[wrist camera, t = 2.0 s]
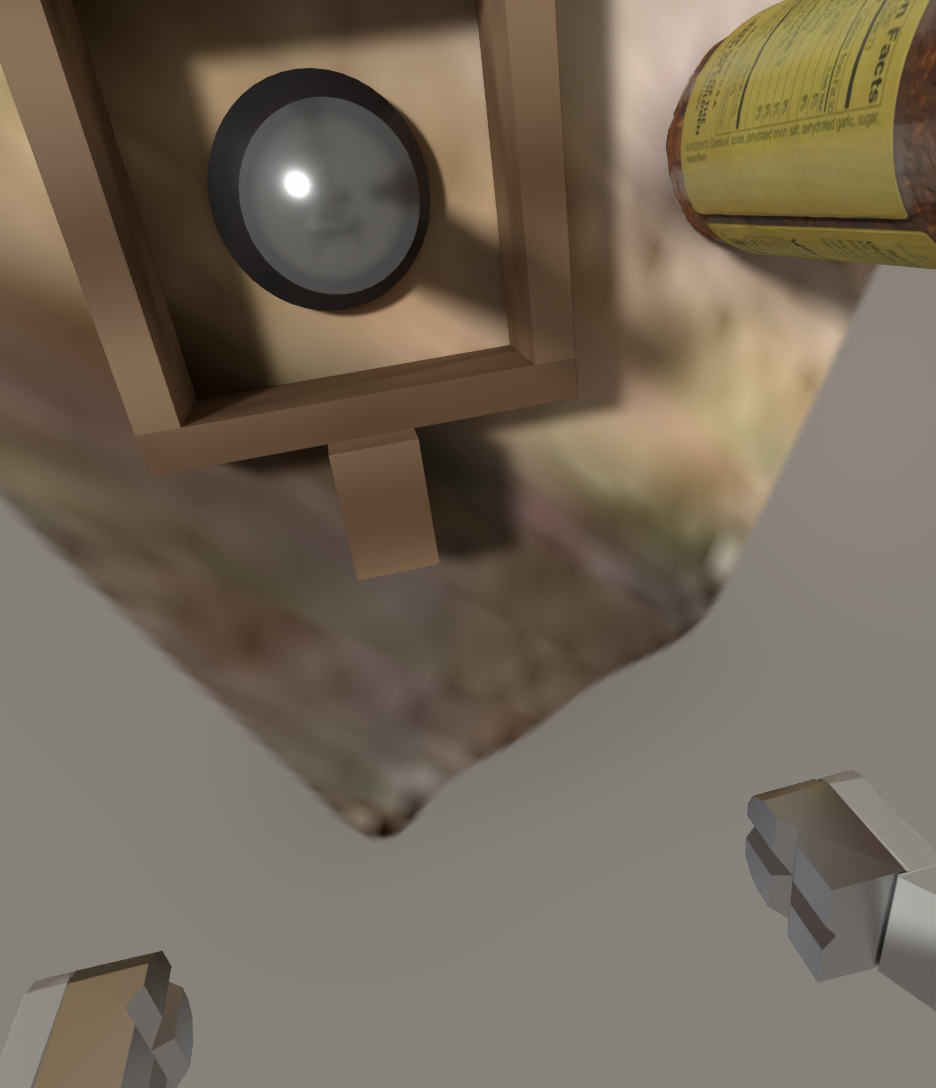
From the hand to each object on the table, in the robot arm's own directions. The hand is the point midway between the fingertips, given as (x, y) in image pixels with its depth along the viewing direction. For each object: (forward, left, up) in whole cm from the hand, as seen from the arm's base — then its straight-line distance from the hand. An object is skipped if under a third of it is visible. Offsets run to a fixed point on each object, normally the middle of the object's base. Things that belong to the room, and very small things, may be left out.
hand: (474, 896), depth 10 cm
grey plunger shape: (-9, 0, -16) cm, 19 cm away
